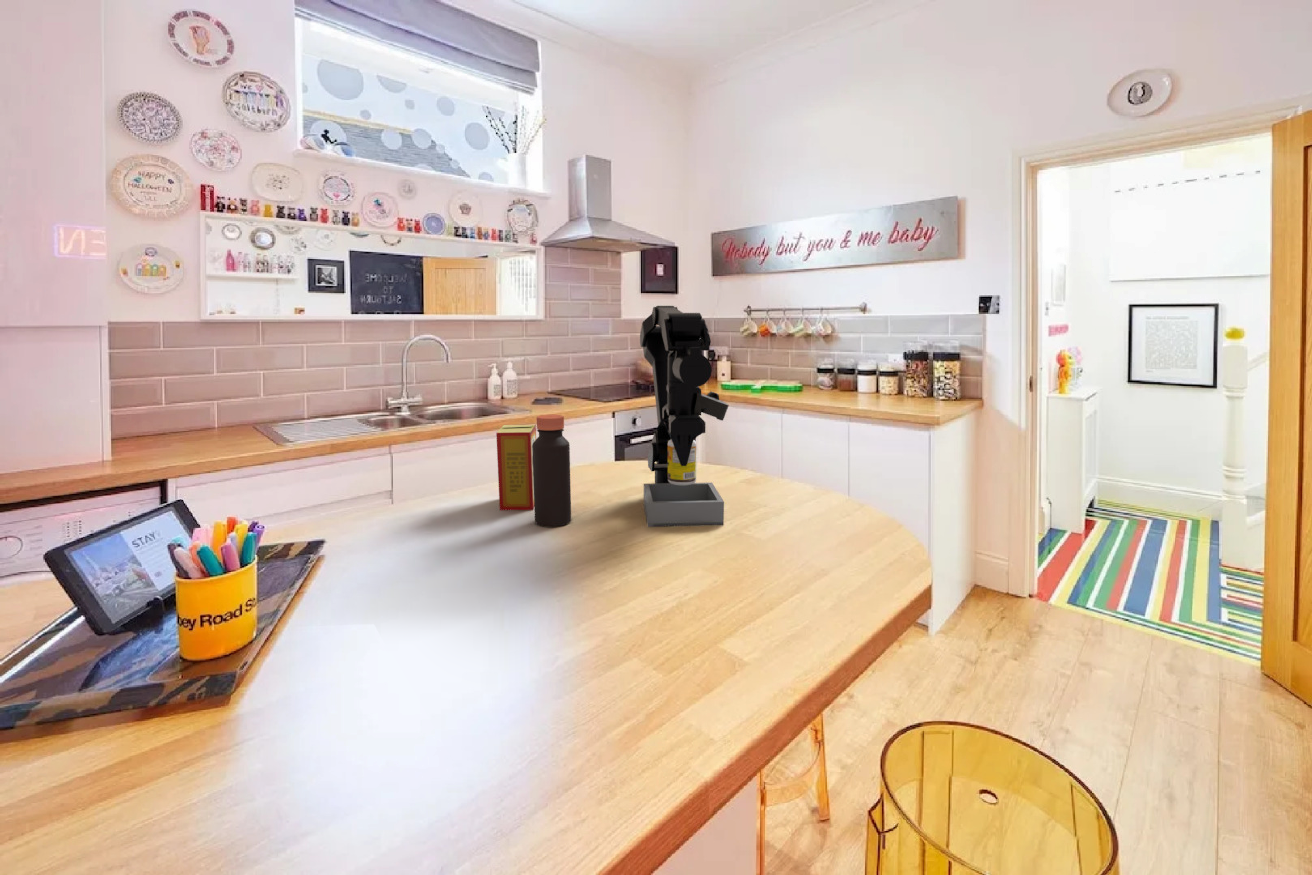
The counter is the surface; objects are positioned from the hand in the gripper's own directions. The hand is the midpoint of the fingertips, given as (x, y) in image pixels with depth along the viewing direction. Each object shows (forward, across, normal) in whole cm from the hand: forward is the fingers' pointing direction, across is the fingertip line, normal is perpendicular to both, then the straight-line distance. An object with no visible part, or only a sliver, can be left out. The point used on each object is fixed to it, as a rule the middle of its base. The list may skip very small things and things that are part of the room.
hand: (682, 462), depth 125 cm
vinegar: (+11, -3, +24) cm, 27 cm away
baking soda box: (+11, +10, +32) cm, 36 cm away
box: (+10, 0, 0) cm, 10 cm away
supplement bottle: (+4, 0, 0) cm, 4 cm away
